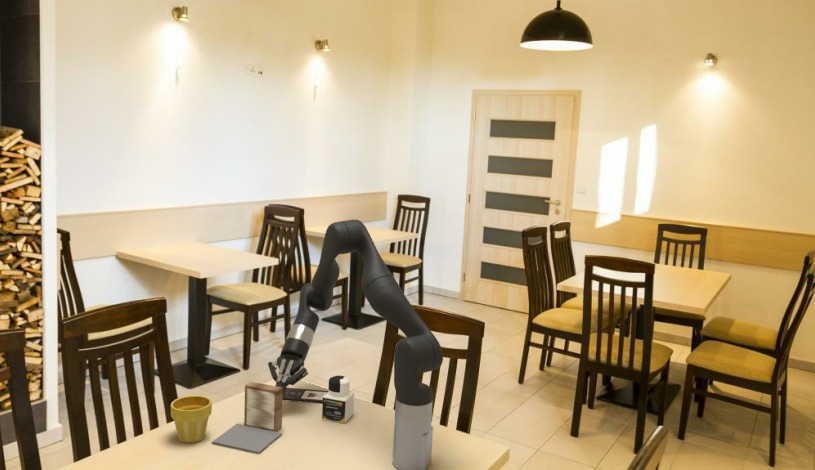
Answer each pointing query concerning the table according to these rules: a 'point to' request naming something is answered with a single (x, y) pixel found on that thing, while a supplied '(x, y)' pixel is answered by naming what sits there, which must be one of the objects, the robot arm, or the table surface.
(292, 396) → the chocolate bar
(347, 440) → the table surface
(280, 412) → the walnut tile
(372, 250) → the robot arm
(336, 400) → the medicine bottle
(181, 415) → the plant pot
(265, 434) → the felt mat
